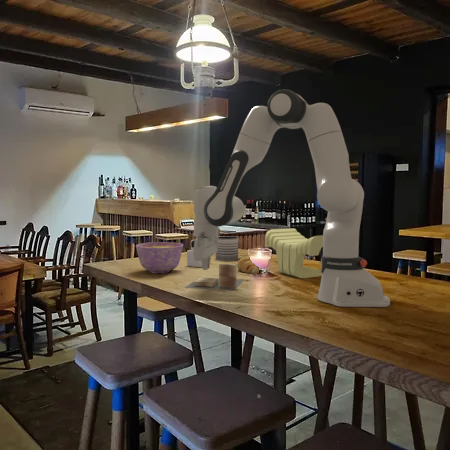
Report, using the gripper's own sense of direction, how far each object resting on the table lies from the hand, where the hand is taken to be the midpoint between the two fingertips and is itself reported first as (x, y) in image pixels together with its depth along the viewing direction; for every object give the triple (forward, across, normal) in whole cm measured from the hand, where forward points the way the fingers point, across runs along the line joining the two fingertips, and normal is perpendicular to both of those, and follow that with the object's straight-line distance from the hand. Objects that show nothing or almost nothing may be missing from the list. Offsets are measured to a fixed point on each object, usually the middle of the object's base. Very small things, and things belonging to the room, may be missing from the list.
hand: (206, 269), depth 169 cm
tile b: (+6, -2, -8) cm, 10 cm away
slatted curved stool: (+7, +32, -32) cm, 46 cm away
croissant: (+7, +35, -9) cm, 37 cm away
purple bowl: (+7, +24, +27) cm, 37 cm away
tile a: (+5, +4, 0) cm, 6 cm away
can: (+7, +65, +7) cm, 66 cm away
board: (+6, +2, -3) cm, 7 cm away
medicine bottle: (+7, +43, +16) cm, 46 cm away
